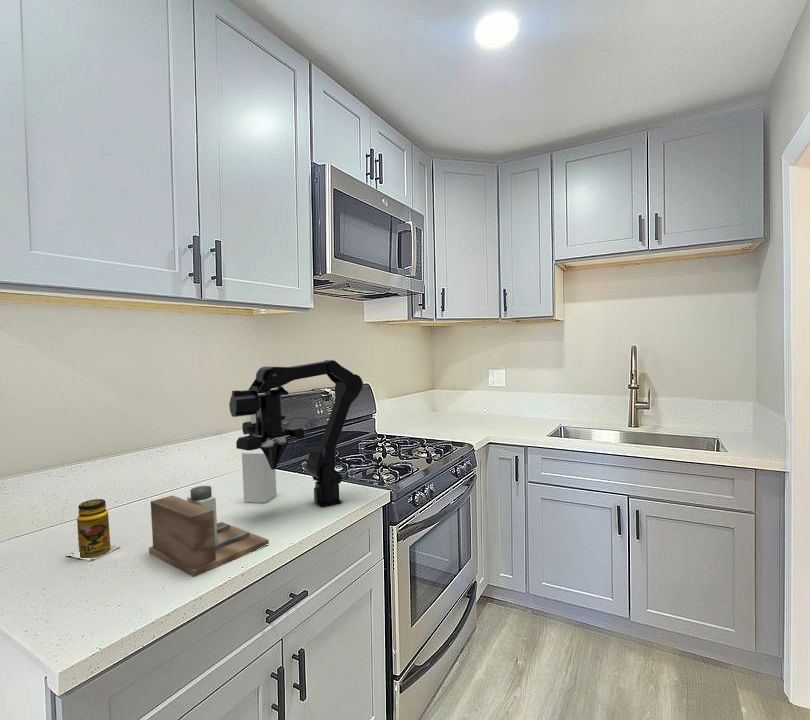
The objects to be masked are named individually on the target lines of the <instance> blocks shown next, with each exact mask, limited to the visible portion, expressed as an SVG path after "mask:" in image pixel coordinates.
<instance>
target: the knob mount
mask: <svg viewBox="0 0 810 720" xmlns="http://www.w3.org/2000/svg"><path fill="white" fill-rule="evenodd" d="M150 518H151V532H152V534H151V535H152V546H149V547H148V553H149V554H151V555H153V556H155V557H156V558H158V559H160V560H162V561H164V562H165V563H167V564H169V565H171V566H174V568H177V569H178V568H179V570H181V571H182V572H184V573H186V574H187V573H188V574H187V575H189V574H190V576H191V575H192V577H193V576H195V577H197V576H199V574H200V575H201V573H202V574H204V573H206V571H207V572H209V571H211V570H213V568H214V569H215V568H218V567H221V566H222V564H223V565H225V564H227V562H228V563H230V562H232V561H235V560H237V559H239V558H241V557H243V555H244V556H246V555H248V554H250V553H249V552H251V551H253V550H255V551H257V550H256V549H258V548H260V547H262V546H264V545H266V544H269V545H270V540H269V539H268V538H265V537H262V536H260V535H257V534H255V533H252V532H250V531H247V530H244V529H241V528H239V527H236V526H233V525H231V524H228V523H226V522H224V521H220V522H217V538H218V543H217V544H215V531H214V511H213V510H212V509H209V508H206V507H203V506H201V505H198V504H195V503H192V502H189V501H187V500H186V499H183V498H180V497H178V496H175V495H173V494H172V495H169V496H166V497H162V498H158V499H155V500H151V501H150ZM262 548H263V547H262ZM260 549H261V548H260ZM258 550H259V549H258ZM253 552H254V551H253ZM247 553H248V554H247ZM251 553H252V552H251ZM245 554H246V555H245ZM236 558H237V559H236ZM234 559H235V560H234ZM220 565H221V566H220ZM196 575H197V576H196Z"/></svg>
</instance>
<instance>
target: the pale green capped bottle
mask: <svg viewBox="0 0 810 720" xmlns="http://www.w3.org/2000/svg"><path fill="white" fill-rule="evenodd" d="M186 499H187V501H189V502H192V503H195V504H198V505H201V506H203V507H206V508H209V509H212V510H213V511H214V531H215V544H217V543H218V538H217V523H218V522H217V503H216V502H217V501H216V500H217V499H216V497H215V496H213V495H212V486H210V485H199V486H195V487H193V488H191V489H190V495H189V496H186Z"/></svg>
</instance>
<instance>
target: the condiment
mask: <svg viewBox="0 0 810 720" xmlns="http://www.w3.org/2000/svg"><path fill="white" fill-rule="evenodd" d="M106 503H107V502H106V500H105V499H103V498H96V499H90V500H89V499H88V500H86V501H83V502H80V504H78V516H77V519H76V524H77V526H76V527H77V535H78V536H77V539H78V550H79V552H80V557H81V558H92V560H91V559H90V560H87V559H85V560H84V561H87V562H90V561H93V560H96V559H99V558H101V557H103V556H105V555H107V554H109V553H111V552H113V551H115V550H117V549H119V548H120V546H116V545H111V537H110V535H111V534H110V519H109V511H108V510H107V509H106V508H107V506H106V505H107V504H106ZM111 546H112V547H111ZM110 547H111V548H110ZM72 556H73V555H72ZM72 556H71V557H70V558H74V559H77V558H76V557H72Z"/></svg>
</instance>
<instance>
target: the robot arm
mask: <svg viewBox="0 0 810 720" xmlns="http://www.w3.org/2000/svg"><path fill="white" fill-rule="evenodd" d="M323 375H326V376H327V377H328V379H329V380H330V381H331V382H333V383H334V384H335V385H334V403H333V406H332V408H331V411H330V414H329V418H328V420H327V423H326V426H325V428H324V432H323V434H322V437H321V440H320V443H319V445H318V447H317V448H316V449H315V450H314V449H310V450H309V453H308V457H307V460H306V461H305V463H306V471H307V474H309V475H310V476H311V477H312V479H313V481H315V483H314V484H315V487H313V501H314V503H316V504H317V505H318V506H319V507H321V508H322V507H323V508H324V507H327V506H328V507H329V506H333V505H338V504H342V502H343V501H342V500H341V499H340V484H341V483H342V478H343V475H342V474H341V473H340V472H339V471H337V470H336V469H335V468H336V464H337V463H336V461H337V460H336V459H337V457H336V449H337V446H338V443H339V439H340V438H341V437H340V436H341V434H342V431H343V428H344V426H345V422H346V419H347V416H348V413H349V411H350V407H351V406H352V403H354V401H356V400H357V398H358V397H359V395H360V392H361V391H362V389H363V387H364V381H363V380H362V377H361V376H360V375H359V374H355V373H353V371H351V370H349V369H347V368H346V367H344V366H342V365H341V364H340V363H338V362H337V361H336V360H334V359H325V360H323V361H318V362H310V363H305V364H304V363H303V364H298V365H293V366H261V367H260V368H259V369H258V370H257V372H256V374H255V379H254V380H253V382H252V384H251V385H250V386H249V388H248V389H244V390H232V391H231V396H230V400H229V402H228V403H229V404H228V405H229V412H230V415H231V417H233V418H236V417H238V418H239V417H245V416H253V415H256V414H257V412H259V416H257V417H256V422H255V423H254V422H253V423H252V421H246V422H245V421H244V422H243V423H242V424H241V425H242V427H241V430H242V434H243V435H245V436H240V437H238V438H237V440H236V442H235V444H236V445H235V446H236V447H235V448H236V449H238V450H242V451H243V450H248V451H249V450H255V449H259V448H260V449H261V450H262V451H263V452H264V454H265V456H266V458H267V461H268V463H269V465H270V468H271V469H272V470H274V469H275V470H276V469H277V467H278V464H279V462H280V460H281V457H282V455H283V453H284V451H285V450H286V448H287V446H289V445H290V442H289V441H286V439H289V438H294V439H295V440H302V439H306V431H305V430H304V429H303V428H302V427H296V426H290V427H284V428H283V421H284V420H286V416H285V415H284V414H283V412H282V411H283V407H282V396H287V395H289V394H290V392H289V391H287V390H286V389H285V388H284V387H283V386H284V385H287V384H289V383H290V382H293V381H296V380H302V379H307V378H313V377H317V376H323Z"/></svg>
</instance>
